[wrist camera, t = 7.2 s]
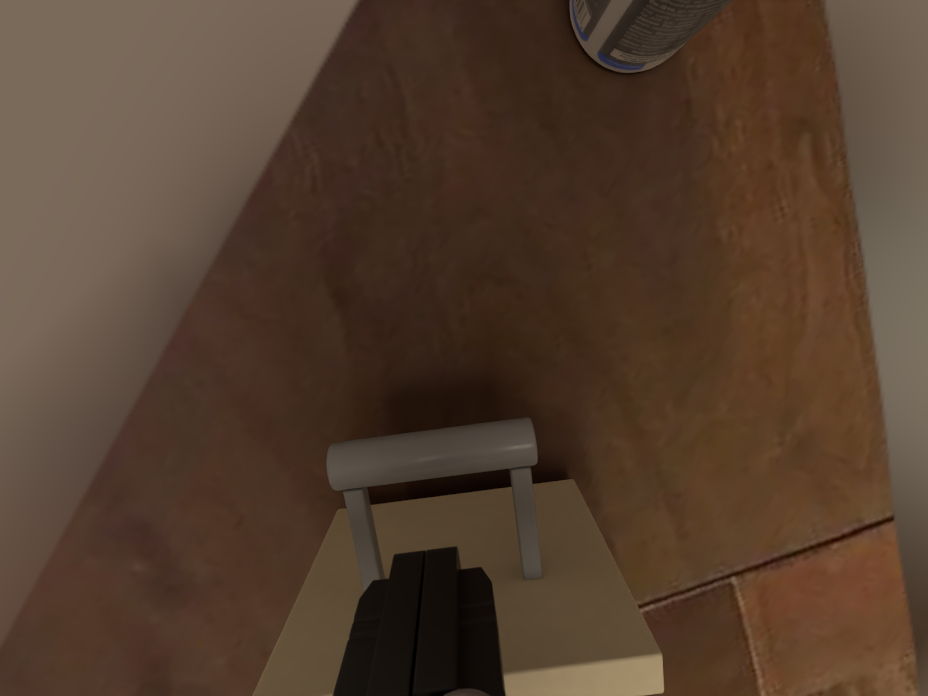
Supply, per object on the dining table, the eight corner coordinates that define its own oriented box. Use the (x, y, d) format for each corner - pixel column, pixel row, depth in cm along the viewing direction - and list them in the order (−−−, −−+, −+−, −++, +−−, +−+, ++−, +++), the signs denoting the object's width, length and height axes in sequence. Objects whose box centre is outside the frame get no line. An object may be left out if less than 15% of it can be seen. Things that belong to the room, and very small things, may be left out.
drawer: (313, 395, 19) (190, 520, 10) (563, 362, 19) (654, 460, 10) (385, 733, 23) (341, 1032, 14) (594, 708, 22) (679, 994, 14)
